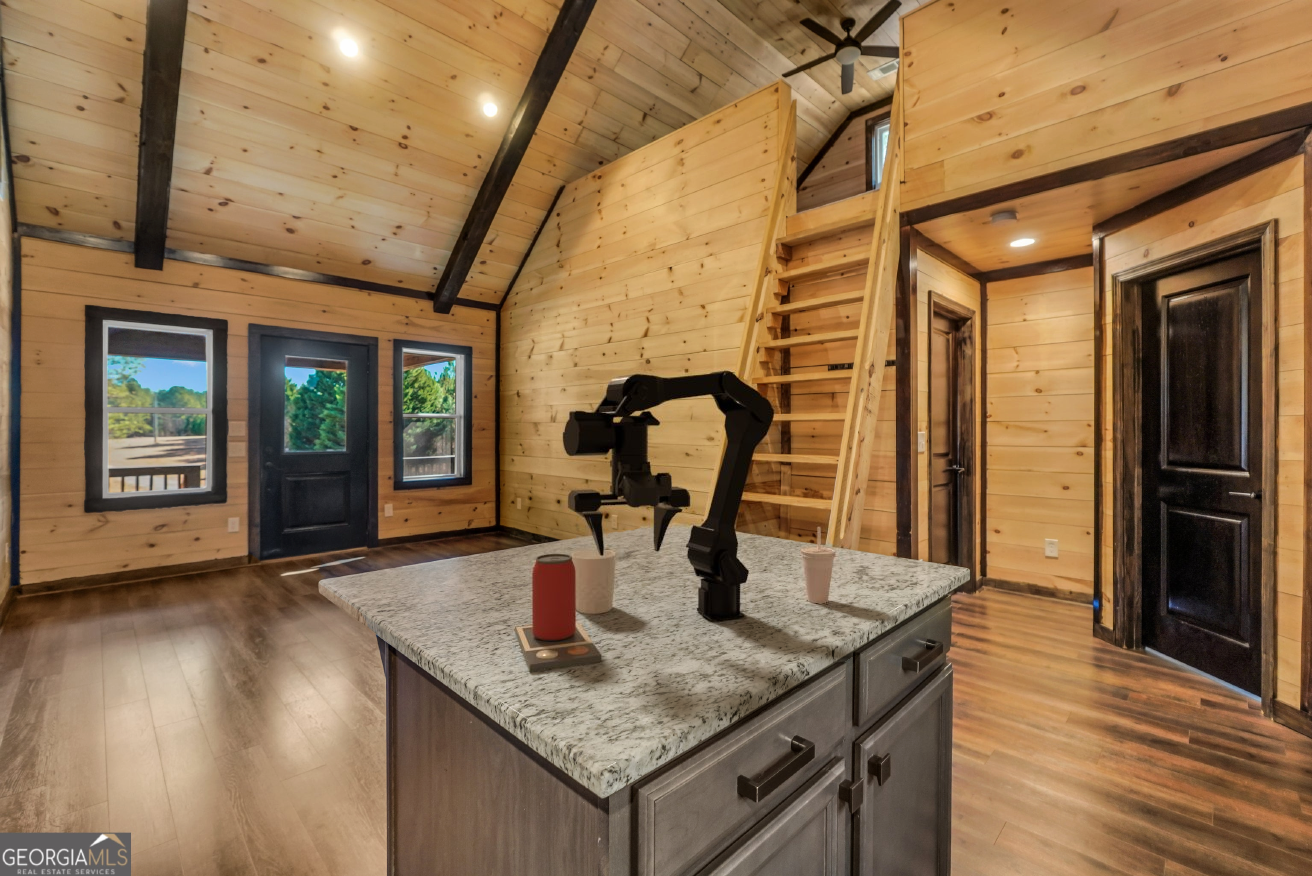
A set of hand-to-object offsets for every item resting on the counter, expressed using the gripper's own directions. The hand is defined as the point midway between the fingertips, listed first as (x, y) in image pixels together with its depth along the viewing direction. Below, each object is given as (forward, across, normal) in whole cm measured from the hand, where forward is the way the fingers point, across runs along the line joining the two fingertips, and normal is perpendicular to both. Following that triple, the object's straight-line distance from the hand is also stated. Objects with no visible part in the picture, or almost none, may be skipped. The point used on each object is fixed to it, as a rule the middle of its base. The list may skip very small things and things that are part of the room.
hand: (629, 553), depth 94 cm
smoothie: (+13, +39, +5) cm, 41 cm away
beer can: (+12, -12, +1) cm, 17 cm away
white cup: (+13, -2, +15) cm, 20 cm away
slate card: (+13, -12, -1) cm, 18 cm away
